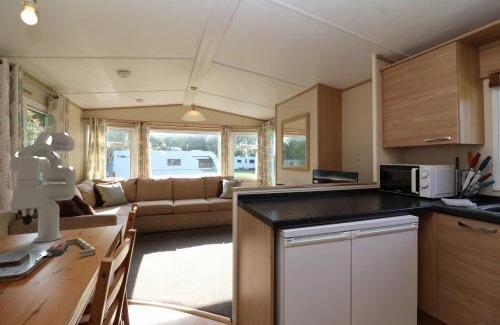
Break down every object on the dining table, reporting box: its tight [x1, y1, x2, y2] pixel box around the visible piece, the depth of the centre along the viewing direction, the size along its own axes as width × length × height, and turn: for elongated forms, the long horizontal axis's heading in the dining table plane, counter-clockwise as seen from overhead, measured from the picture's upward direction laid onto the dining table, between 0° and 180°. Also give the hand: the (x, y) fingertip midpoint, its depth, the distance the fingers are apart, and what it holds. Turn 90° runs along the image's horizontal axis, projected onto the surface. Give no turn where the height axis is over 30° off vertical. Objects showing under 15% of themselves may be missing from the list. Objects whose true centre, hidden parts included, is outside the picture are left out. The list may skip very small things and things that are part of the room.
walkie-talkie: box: [46, 242, 69, 257], centre depth 117 cm, size 9×4×20 cm
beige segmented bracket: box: [65, 237, 97, 258], centre depth 125 cm, size 27×6×2 cm, turn 49°
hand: (27, 224), depth 109 cm, fingers closed
